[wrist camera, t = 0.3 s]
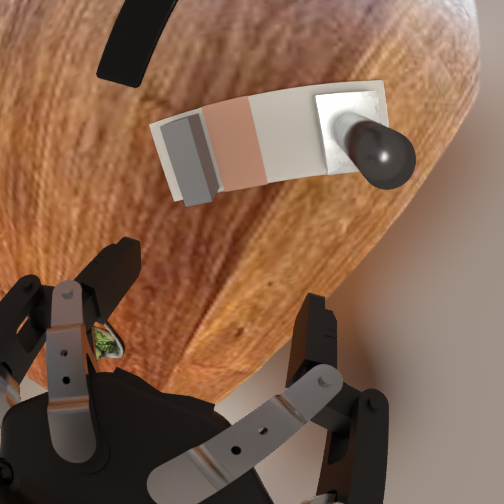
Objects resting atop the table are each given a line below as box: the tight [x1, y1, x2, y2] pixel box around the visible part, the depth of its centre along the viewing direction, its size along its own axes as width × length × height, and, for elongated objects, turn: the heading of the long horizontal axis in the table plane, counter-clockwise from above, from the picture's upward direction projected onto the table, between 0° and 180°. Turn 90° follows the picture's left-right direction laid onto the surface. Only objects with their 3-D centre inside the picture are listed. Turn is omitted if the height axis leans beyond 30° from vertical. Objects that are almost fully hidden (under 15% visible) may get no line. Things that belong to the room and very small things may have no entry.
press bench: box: [149, 80, 389, 207], centre depth 28 cm, size 26×10×6 cm, turn 103°
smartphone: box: [96, 0, 178, 88], centre depth 23 cm, size 7×1×15 cm
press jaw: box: [312, 90, 416, 190], centre depth 21 cm, size 6×8×13 cm
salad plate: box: [93, 322, 124, 361], centre depth 53 cm, size 19×18×5 cm
